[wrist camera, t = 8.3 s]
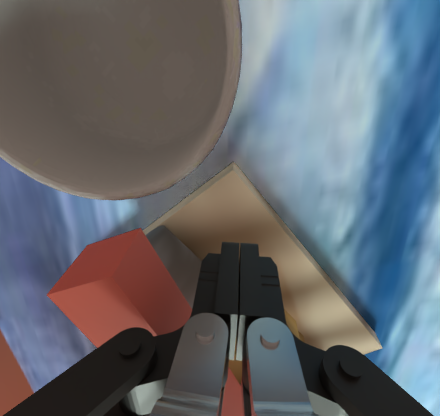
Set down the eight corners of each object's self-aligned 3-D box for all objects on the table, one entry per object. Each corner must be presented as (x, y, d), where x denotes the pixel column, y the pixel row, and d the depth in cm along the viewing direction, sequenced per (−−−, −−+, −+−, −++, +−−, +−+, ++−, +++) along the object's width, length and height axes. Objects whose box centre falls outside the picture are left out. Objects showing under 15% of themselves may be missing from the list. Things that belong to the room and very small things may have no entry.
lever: (274, 428, 16) (279, 484, 14) (225, 433, 17) (223, 487, 15) (150, 224, 10) (123, 272, 8) (79, 247, 10) (36, 297, 8)
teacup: (264, 115, 16) (282, 158, 9) (112, 169, 19) (35, 235, 12) (164, -249, 10) (-3, -920, 3) (-42, -98, 13) (-394, -291, 6)
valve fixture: (375, 332, 25) (436, 459, 17) (244, 381, 30) (246, 495, 22) (233, 161, 18) (227, 243, 10) (96, 265, 23) (22, 372, 15)
